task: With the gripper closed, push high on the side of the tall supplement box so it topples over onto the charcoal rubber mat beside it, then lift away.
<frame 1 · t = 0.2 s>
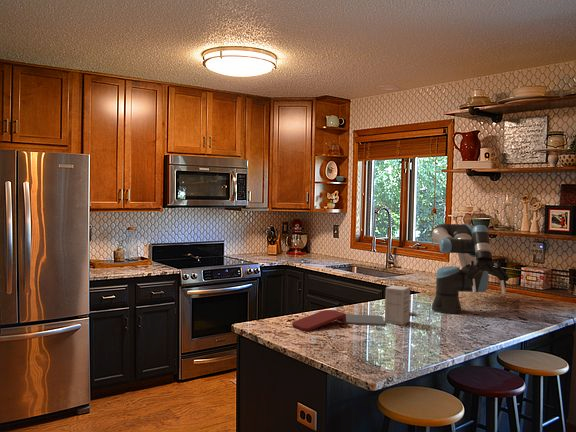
hand: (489, 293, 248), 16 cm above the counter, tool tilted 35°, fingers open, 13 cm apart
supplement box: (397, 322, 251), on the counter
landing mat: (363, 320, 252), on the counter
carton: (319, 324, 241), on the counter, touching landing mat
onion: (399, 313, 271), on the counter
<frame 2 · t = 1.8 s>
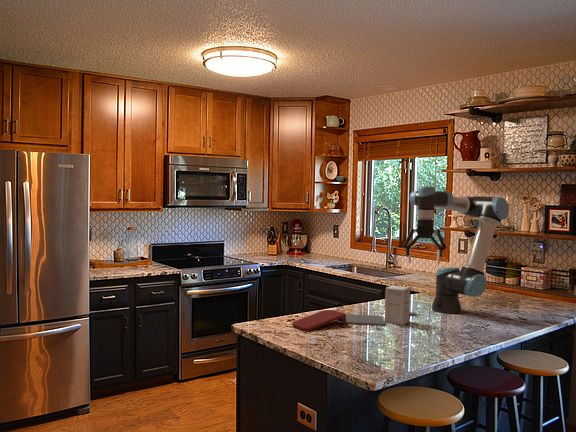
hand: (423, 263, 249), 29 cm above the counter, tool pointing down, fingers open, 13 cm apart
nothing on the counter moved.
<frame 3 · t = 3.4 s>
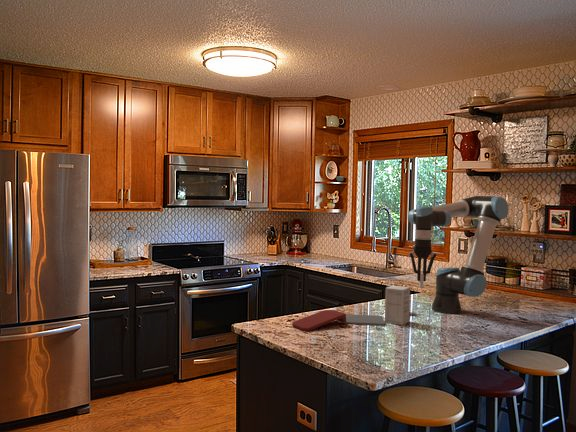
hand: (421, 287, 249), 17 cm above the counter, tool pointing down, fingers closed
nothing on the counter moved.
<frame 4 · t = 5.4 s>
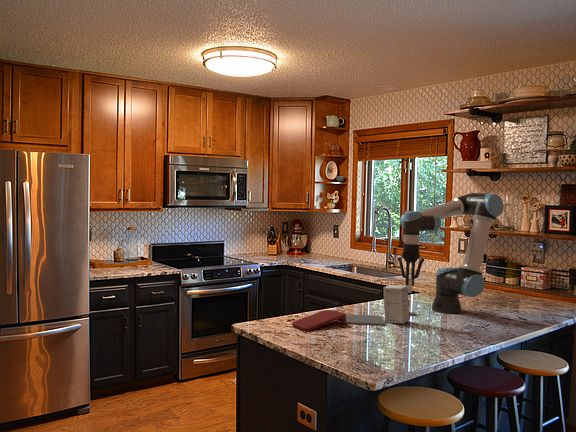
hand: (409, 292, 250), 15 cm above the counter, tool pointing down, fingers closed
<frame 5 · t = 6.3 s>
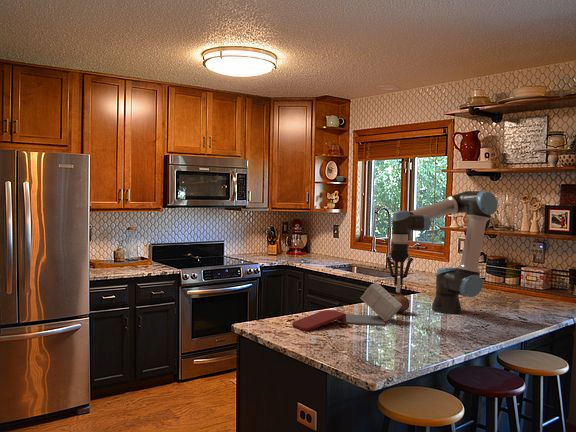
hand: (398, 291, 250), 15 cm above the counter, tool pointing down, fingers closed
supplement box: (394, 313, 252), point 4 cm above the counter, touching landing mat
everything else where it was.
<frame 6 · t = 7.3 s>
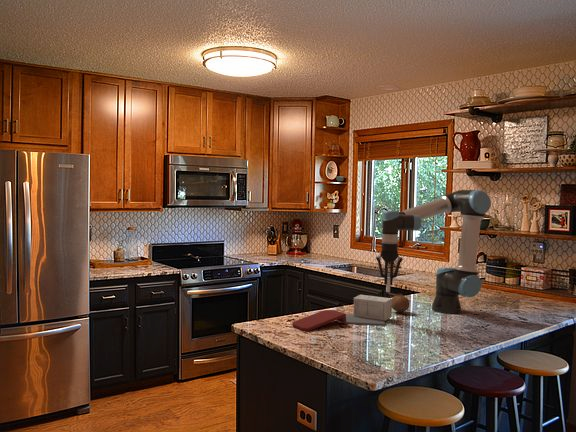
hand: (388, 291, 251), 15 cm above the counter, tool pointing down, fingers closed
supplement box: (389, 309, 252), point 5 cm above the counter, touching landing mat
everything else where it was.
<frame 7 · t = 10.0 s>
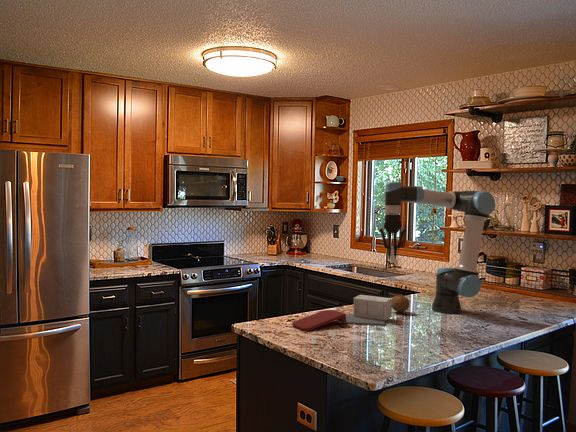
hand: (391, 262, 251), 28 cm above the counter, tool pointing down, fingers closed
nothing on the counter moved.
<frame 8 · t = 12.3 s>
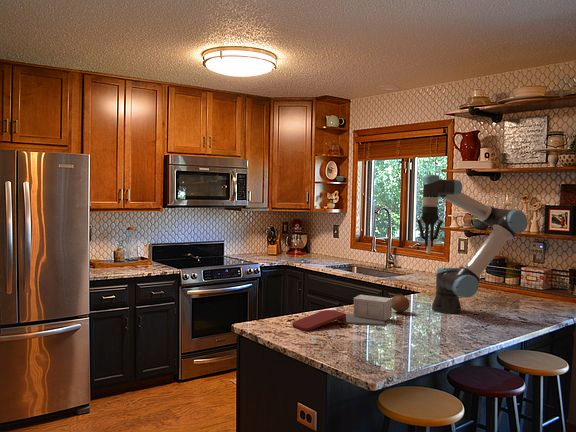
hand: (428, 253, 260), 32 cm above the counter, tool pointing down, fingers closed
nothing on the counter moved.
at the end: supplement box tilted 90°; supplement box touching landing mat; supplement box inside the target area (2.4 cm from its centre), point 5.5 cm above the counter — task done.
